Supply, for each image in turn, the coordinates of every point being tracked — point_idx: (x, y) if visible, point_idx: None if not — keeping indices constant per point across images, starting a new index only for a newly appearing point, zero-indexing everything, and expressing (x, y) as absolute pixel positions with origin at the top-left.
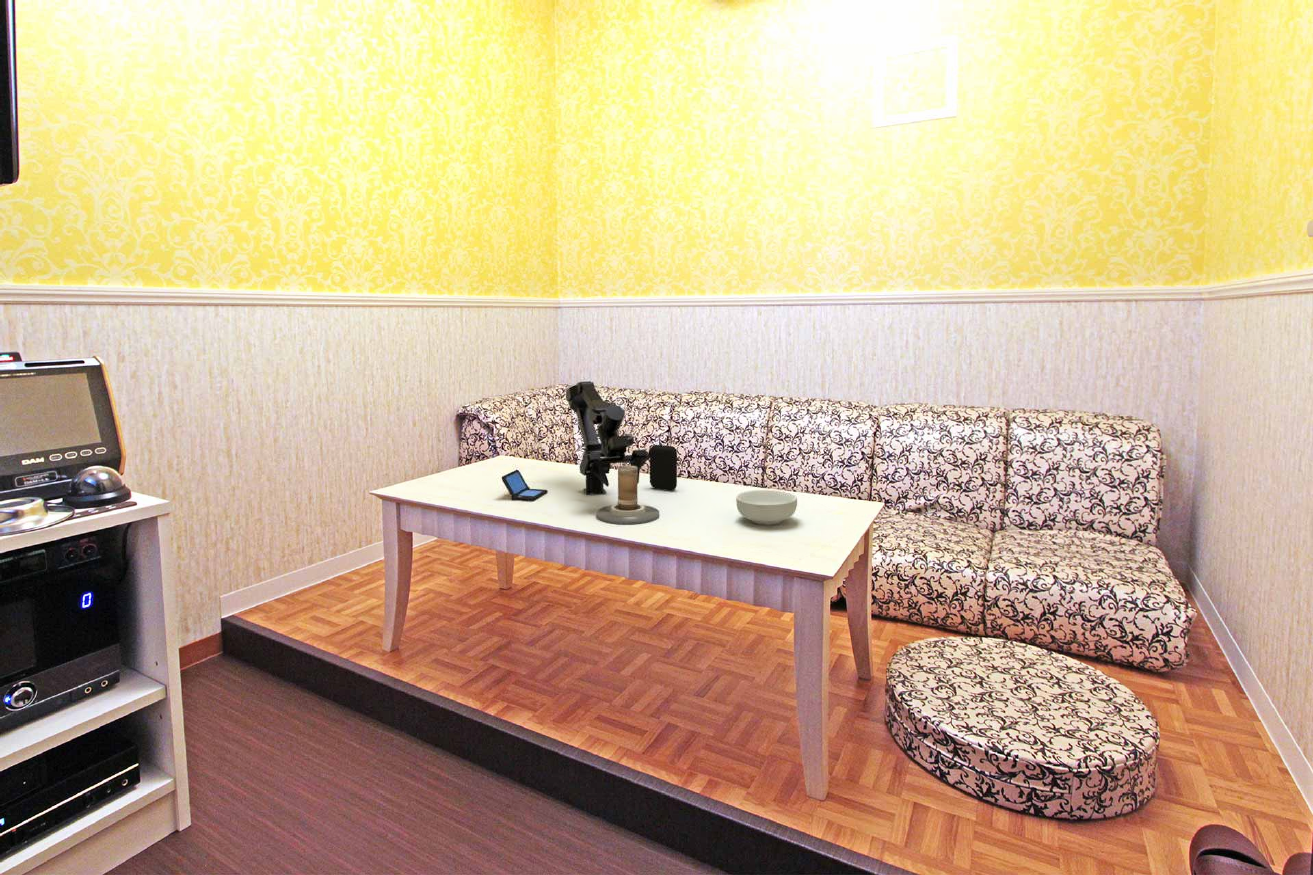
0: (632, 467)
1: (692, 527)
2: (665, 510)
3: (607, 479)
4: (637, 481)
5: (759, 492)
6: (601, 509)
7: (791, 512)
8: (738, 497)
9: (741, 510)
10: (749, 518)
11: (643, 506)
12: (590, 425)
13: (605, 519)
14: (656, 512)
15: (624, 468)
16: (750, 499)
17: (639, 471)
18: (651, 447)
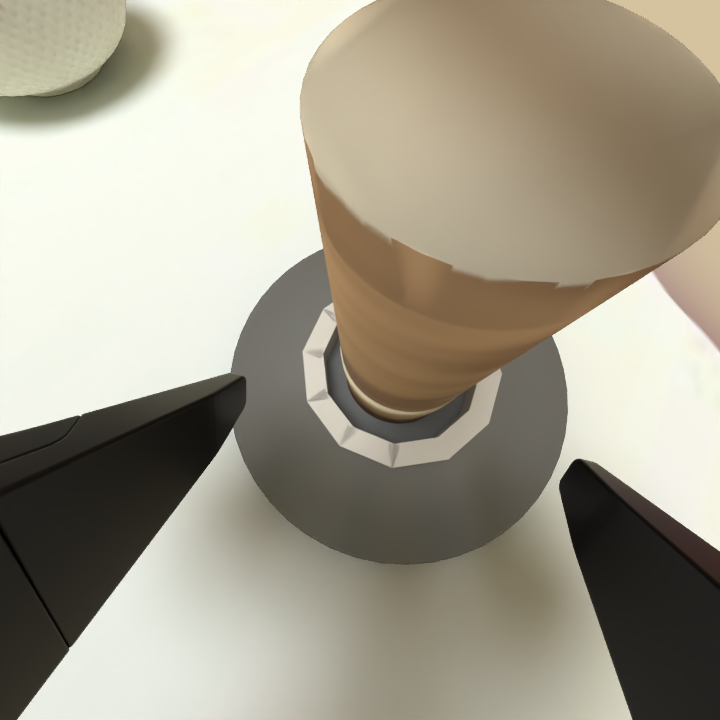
0: (422, 58)
1: (291, 128)
2: (190, 344)
3: (628, 502)
4: (243, 377)
5: None
6: (497, 514)
7: None
8: (9, 3)
9: (110, 11)
10: (123, 31)
11: (321, 323)
12: None
13: (550, 341)
14: (286, 287)
15: (614, 73)
16: None
17: (85, 413)
18: None
